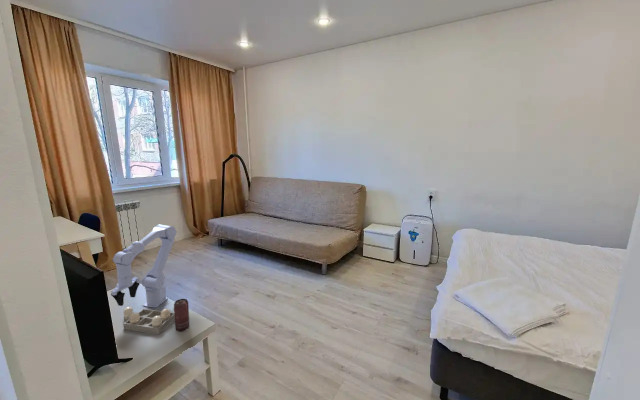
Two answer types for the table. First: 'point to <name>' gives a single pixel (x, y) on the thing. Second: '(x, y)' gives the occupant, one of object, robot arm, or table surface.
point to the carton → (148, 322)
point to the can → (181, 315)
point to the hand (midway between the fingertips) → (127, 301)
